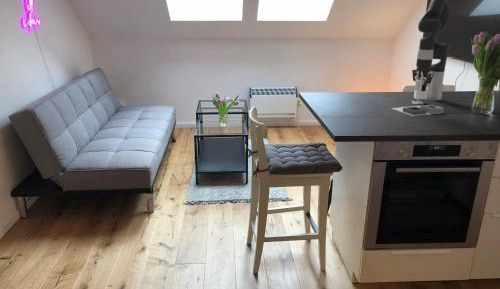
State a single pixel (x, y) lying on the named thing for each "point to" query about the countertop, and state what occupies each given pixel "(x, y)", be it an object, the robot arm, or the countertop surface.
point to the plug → (419, 85)
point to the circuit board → (429, 109)
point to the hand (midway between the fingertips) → (420, 90)
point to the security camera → (420, 96)
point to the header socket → (414, 110)
